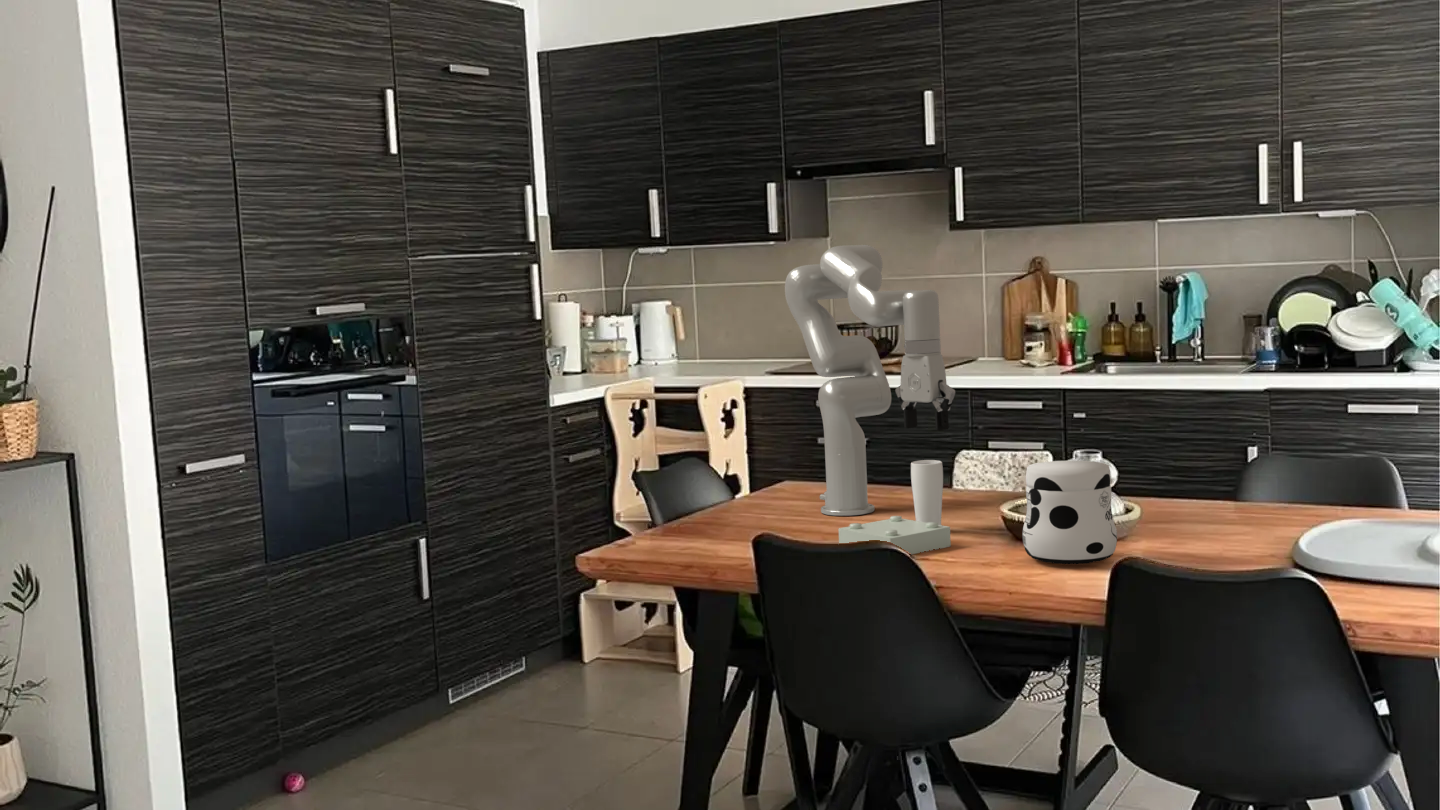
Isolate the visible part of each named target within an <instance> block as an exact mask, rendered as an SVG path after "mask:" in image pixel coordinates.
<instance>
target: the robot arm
mask: <svg viewBox="0 0 1440 810" xmlns="http://www.w3.org/2000/svg"><path fill="white" fill-rule="evenodd" d="M819 261H820V262H819V263H817V264H816V263H813V264H805V265H800V266H797V267H794V268H793V269H792V270H790V271H789V272H788V274H787V275H786V278H785V281H784V282H785V283H784V296H785V302H786V304H787V307H788V309H789V312H790V313H791V315H792V317H793V319H794V320H795V322H796V325H798V328H799V331H800V332H801V334H802V338H803V341H804V344H805V347H806V350H807V353H808V356H809V358H810V362H811V365H812V367H813V369H814V371H815V372H816V374H817V375H819V376H820V377H823V378H833V379H829V380H827V381H826V382H824V383H823V384H822V385H821V386H820V388H819V389H818V396H817V397H818V399H817V400H818V406H819V409H820V413H821V414H820V415H821V419H822V425H823V439H824V458H825V459H824V460H825V461H824V462H825V481H826V482H825V485H826V490H825V491H824V493H821V494H820V495H819V500H823V501H824V505H822V506H821V507H820V513H822V514H823V515H828V516H836V517H837V516H838V517H839V516H840V517H844V516H846V517H847V516H859V515H860V516H862V515H866V514H870V513H873V512H875V505H874V504H872V503H869V501H868V476H867V452H866V451H867V450H866V448H867V447H866V437H865V433H864V431H863V429H862V427H861V426H860V424H859V422H858V421H857V419H856V418H860V417H871V416H876V415H877V416H878V415H881V414H884V413H886V412H887V411H888V410H889V409H890V407H891V404H892V392H891V387H890V384H889V381H888V379H887V376H886V372H885V370H884V367H883V365H882V361H881V359H880V356H879V353H878V350H877V348H876V347H875V344H874V343H873V341H871V340H870V339H869V338H867V337H866V336H864V335H858V334H857V335H842V334H841V332H840V330H839V329H838V325H837V321H836V319H835V318H834V316H833V315H832V314H831V313H830V311H828V309H827V308H825V307H824V306H823V305H822V304H821V303H819V300H821V301H822V300H838V299H839V300H840V299H847V303H848V305H849V308H850V311H851V312H852V313H853V315H854V316H855V317H857V318H859V320H861V321H862V322H864V323H866V324H867V325H870V326H872V327H889V326H890V327H891V326H903V333H904V334H903V336H904V344H903V348H904V355H902V359H901V368H900V385H899V386H898V387H896V388H895V394H896V396H897V400H898V403H899V404H900V407H901V409H902V410H903V425H904V426H903V427H904V428H905V429H912V428H917V427H918V411H917V408H915V407H916V405H917V403H922V404H923V403H927V404H928V403H932V405H933V406H934V407H935V409H936V411H934V419H935V420H934V422H935V424H934V425H935V430H936V431H944V430H949V428H950V426H949V423H950V422H949V411H951V406H952V405H953V403H954V398H955V395H956V390H955V389H954V388H952V386H950V385H949V384H948V383H947V374H946V373H947V372H946V367H945V362H944V357H943V354H942V349H941V327H940V324H941V323H940V303H939V295H938V292H937V291H936V290H932V289H921V290H918V289H917V290H916V289H900V290H899V289H897V290H880V289H881V286H882V282H883V277H882V276H883V275H882V271H883V266H884V265H883V264H884V263H883V259H882V255H881V253H880V252H879V250H877V249H876V247H874V246H872V245H870V244H869V245H868V244H855V245H854V244H852V245H851V244H850V245H846V244H845V245H837V246H836V245H835V246H833V247H830V248H828V249H827V250H826V251H825V252H823V253H822V255H821V257H820V260H819Z"/></svg>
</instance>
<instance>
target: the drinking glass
mask: <svg viewBox="0 0 1440 810" xmlns="http://www.w3.org/2000/svg"><path fill="white" fill-rule="evenodd" d="M910 480H911V490H912V498H913V506H914V516H915V521H919V522H925V523H928V522H937V523H938V525H942V509H943V489H944V468H943V462H942V461H941V460H935V459H924V460H923V459H922V460H915V461H911V463H910Z"/></svg>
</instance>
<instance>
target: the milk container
mask: <svg viewBox="0 0 1440 810" xmlns="http://www.w3.org/2000/svg"><path fill="white" fill-rule="evenodd" d="M1025 472H1026V473H1025V483H1026V484H1025V485H1026V487H1025V497H1026V498H1025V499H1026V515H1025V520H1024V524H1023V527H1022V543H1023V546H1024V551H1025V552H1026V554H1027V555H1028V556H1029V557H1030V558H1032V559H1033V560H1036V561H1039V562H1042V563H1047V564H1048V563H1049V564H1055V565H1084V564H1093V563H1098V562H1101V561H1105V560H1106V559H1110V558H1111V557H1112V556H1113V555H1114V553H1115V551H1116V547H1117V542H1118V529H1117V527H1116V524H1115V520H1114V516H1113V512H1112V511H1113V510H1112V485H1111V482H1112V477H1111V476H1112V475H1111V468H1110V465H1109V464H1107V463H1104V462H1100V461H1099V462H1098V461H1090V460H1052V461H1051V460H1050V461H1044V462H1036V463H1032V464H1029V465H1027V467H1026V471H1025Z"/></svg>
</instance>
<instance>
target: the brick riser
mask: <svg viewBox="0 0 1440 810" xmlns="http://www.w3.org/2000/svg"><path fill="white" fill-rule="evenodd" d="M869 540H880V541H887V542H891V543H893V544H895V545H897V546H899V547H901V548H902V549H904V550H906V551H908V552H909V553H911V555H915V554H919V553H920V552H921V553H925V552H924V551H926V552H929V550H930V551H934V550H933V549H935V550H939V548H940V549H944V548H949V547H952V546H951V544H952V543H951V540H952V539H951V526H948V525H942V524H941V525H938V523H937V522H928V523H925V522H919V521H916V520H913V519H907V518H902V516H901V515H891V516H890V517H889V518H888V519H882V520H877V521H871V522H866V523H858V522H857V523H849V525H848V526H843V527H839V528H838V544H839V543H849V542H857V541H869Z"/></svg>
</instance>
